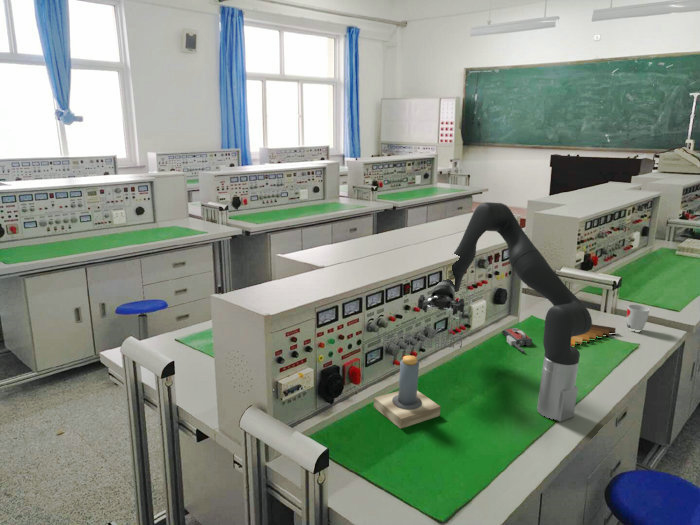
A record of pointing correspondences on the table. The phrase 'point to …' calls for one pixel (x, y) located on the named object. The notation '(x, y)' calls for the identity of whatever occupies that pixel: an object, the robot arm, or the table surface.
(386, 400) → the display riser
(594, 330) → the pan flute
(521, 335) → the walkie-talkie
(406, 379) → the can
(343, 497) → the table surface
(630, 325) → the cup
